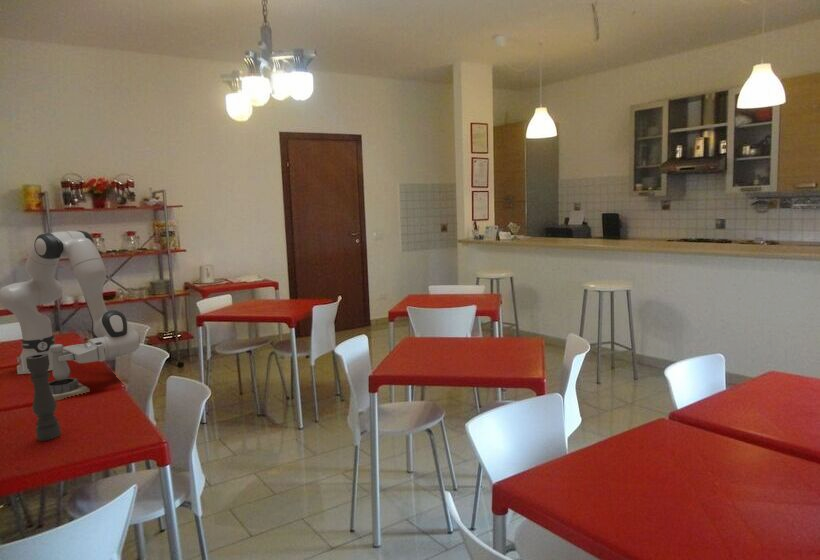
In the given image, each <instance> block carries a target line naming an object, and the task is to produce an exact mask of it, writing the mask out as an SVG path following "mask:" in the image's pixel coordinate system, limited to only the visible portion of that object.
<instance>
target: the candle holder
mask: <svg viewBox="0 0 820 560" xmlns="http://www.w3.org/2000/svg"><path fill="white" fill-rule="evenodd" d="M26 363H27V369H29V372H31V374H30V375H31V376H30V377H29V380H30V381H31V382H32V384H33V388H34V389H33V390H34V394H33V403H32V411H33V413H34V414H35V415H36V417H37V421H36V422H35V425H36V427H35V433H36V440H37V441H40V442H44V441H45V442H46V440H47V441H51V440H53V439H54V438H55V439H57V438H59V437H60V436H61V435H62V432H61V425H60V422H58V421H59V419H58V417H56V416H55V412H56V410H57V408H58V407H57V406H58V405H57V401H55V400H54V397H53V395H52V393H51V391H50V388H49V382H50V381H49V379H50V377H51V374H50V373H49V371H48V369H49V365H50V363H49V357H48V354H37V355H32V356H29V357H27V358H26ZM58 436H59V437H58ZM56 437H57V438H56ZM50 439H51V440H50Z"/></svg>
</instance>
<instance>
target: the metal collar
mask: <svg viewBox="0 0 820 560" xmlns="http://www.w3.org/2000/svg"><path fill="white" fill-rule="evenodd" d="M78 382H79V380H78V378H76V377H69V378H67V379H64V380H56V379H55V380H52V381H49V388H50V391H51V393H52V394H62V393H67V392H71V391H73V390H76V389H77V388H78V387H79V386H78Z"/></svg>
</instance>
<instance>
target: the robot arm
mask: <svg viewBox="0 0 820 560" xmlns="http://www.w3.org/2000/svg"><path fill="white" fill-rule="evenodd" d="M60 259H62V260H63V259H68V260H69V262H70V265H71V268H72V270H73V273H74V275H75V278H76V280H77V282H78V283H79V286H80V289H81V291H82V294H83V297H84V301H85V303H86V307H87V310H88V312H89V316H90V318H91V335H92V338H90V339H88V340H87V343H86V342H85V343H79V344H78V343H77V344H71V345H67V346H66V345H65V346H63V350H62V352H63V354H64V355H63V356H62V355H61V356H58V357H57V360H58V361H74V362H76V363H78V364H86V363H93V362H100V363H101V362H104V361H106V360H107V359H110V358H113V357H121V356H122V357H123V356H126V355H129V354H132V353H134V352H136V351H137V350H138V349H139V347H140V343H141V337H140V334H139V333H138V331H136V329H134V328H133V327H132V326H131V325H130V324H129V322H128V320H127V318H126V316H125V314H124V313H123V312H121V311H119V310H116V309H115V310H114V309H113V310H108V309H107V306H106V303H105V300H104V295H103V290H104V285H105V282H106V279H107V270H106V267H105V263H104V259H102V256H101V254H100V252H99V250H98V248H97V247H96V245H95V244H94V239H93V237H92V235H91V234H90V233H89V232H87V231H84V230H62V231H55V232H43V233H41V234H38V235H37V237H36V238H35V239H34V242H33V244H32V246H31V248H30V251H29V253H28V256H27V259H26V262H25V264H24V271H25V273H26V275H27V276H29V277H30V278H31V279H29V280H26V281H21V282H14V283H12V284H8V285H6V286H3V287H1V288H0V306H1V307H3V308H4V309H6V310H8V311H9V312H11V313H12V314H13V315H14V316H15V318H16V319H17V321H18V322H19V326H20V331H21V336H22V340H21V348H22V351H21V353H20V355H19V356H17V357H16V360H17V363H19V364H18V365H17V366H16V372H17V375H24V374H25V375H26V374H27V375H28V374H30V375H32V374H31V372H29V369H27V363H26V358H27V357H29V356H32V355H37V354H48V357H49V363H50V365H49V369H48V371H47V372H49V371H53V352H51V351H50V347H51V346H52V345H55V343H56V341H55V340H56V339H55V336H54V334H53V330H52V322H51V319H50V317H49V316H48V315H46V314H44V313H43V314H42V313H40V312H39V310H38V308H37V306H40V305H41V306H42V305H47V304H50V303H52V302H55V301H57V300H59V299H60V298H61V297H62V295H63V286H62V284H61V283H60V282H59V280H58V279H56V277H55V276H56V275H55V274H56V271H57V268H58V265H59V262H60Z"/></svg>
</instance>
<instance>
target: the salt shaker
mask: <svg viewBox="0 0 820 560" xmlns="http://www.w3.org/2000/svg"><path fill="white" fill-rule="evenodd" d="M54 344H55V343H54ZM63 347H64V345H63V344H61V343H57V344H55V345H52V346H51V347H50V351H51V352H53V370H52V377H53V378H54V379H55V380H64V379H67V378H70V375H71V369H70V366H69V364H68V362H67V361H68V360H66V361H58V360H57V357H58V356H61V355H62V356H63V355H64V354H63V352H62V350H63Z"/></svg>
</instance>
